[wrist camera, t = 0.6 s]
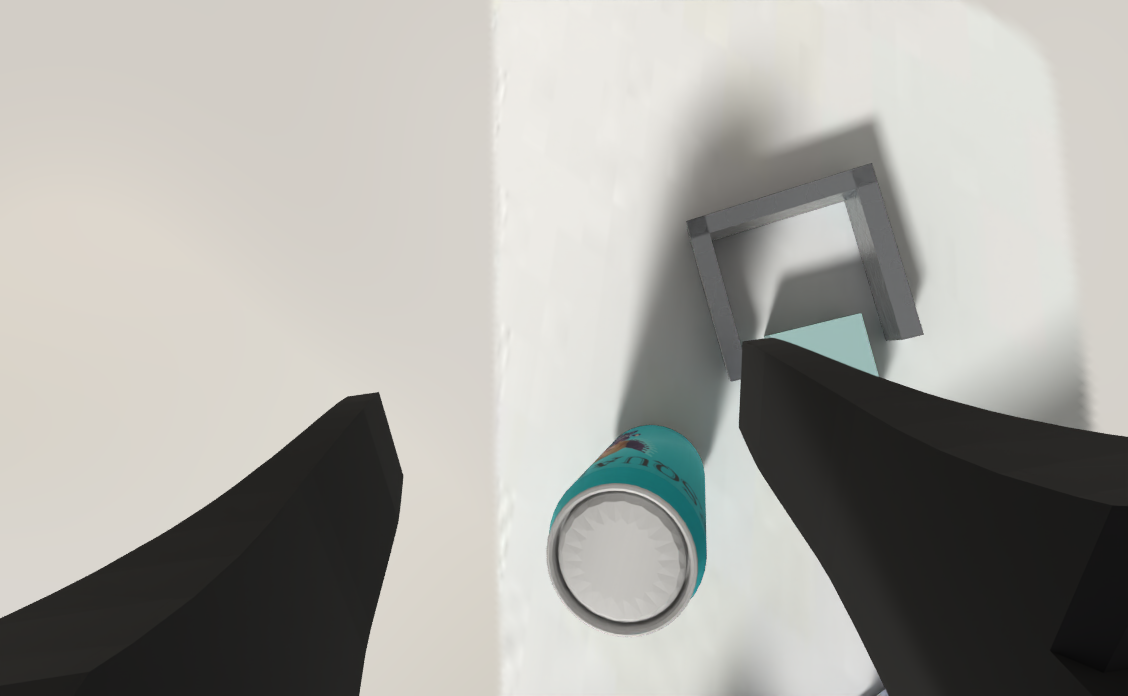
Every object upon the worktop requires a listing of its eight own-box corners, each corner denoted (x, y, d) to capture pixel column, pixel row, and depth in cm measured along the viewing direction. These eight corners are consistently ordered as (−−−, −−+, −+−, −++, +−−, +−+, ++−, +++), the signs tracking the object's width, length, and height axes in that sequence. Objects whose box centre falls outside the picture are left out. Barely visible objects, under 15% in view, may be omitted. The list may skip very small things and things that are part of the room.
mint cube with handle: (873, 412, 31) (897, 422, 27) (788, 430, 32) (800, 441, 28) (846, 316, 31) (867, 311, 27) (763, 336, 32) (772, 334, 28)
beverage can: (659, 401, 34) (626, 441, 19) (725, 477, 33) (745, 580, 18) (588, 462, 35) (505, 544, 20) (650, 537, 34) (611, 680, 19)
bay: (905, 335, 30) (923, 334, 28) (728, 379, 33) (731, 381, 30) (858, 177, 31) (871, 163, 29) (687, 230, 33) (686, 221, 31)
